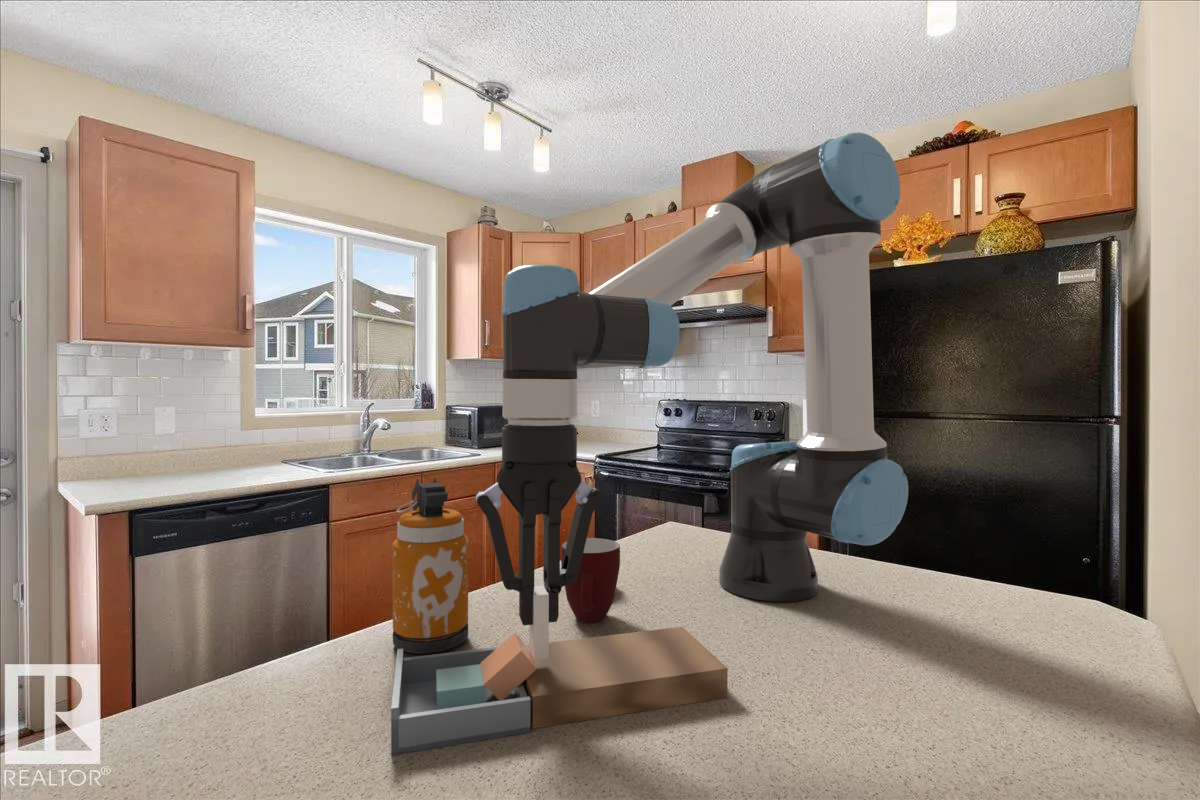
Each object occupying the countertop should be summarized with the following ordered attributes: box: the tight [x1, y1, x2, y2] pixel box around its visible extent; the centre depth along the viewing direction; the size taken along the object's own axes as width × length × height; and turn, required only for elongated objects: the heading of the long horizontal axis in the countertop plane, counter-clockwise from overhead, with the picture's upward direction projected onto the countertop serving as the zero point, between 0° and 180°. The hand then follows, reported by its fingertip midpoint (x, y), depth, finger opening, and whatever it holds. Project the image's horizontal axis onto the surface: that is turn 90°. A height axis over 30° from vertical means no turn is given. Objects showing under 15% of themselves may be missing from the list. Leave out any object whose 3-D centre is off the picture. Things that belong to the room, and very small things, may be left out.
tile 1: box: [436, 664, 486, 710], centre depth 58 cm, size 4×4×2 cm
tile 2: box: [480, 632, 537, 701], centre depth 59 cm, size 4×4×2 cm
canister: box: [392, 477, 469, 655], centre depth 74 cm, size 9×11×20 cm
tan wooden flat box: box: [523, 626, 729, 730], centre depth 63 cm, size 20×11×3 cm, turn 106°
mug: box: [560, 537, 621, 624], centre depth 80 cm, size 11×8×10 cm
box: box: [390, 646, 531, 756], centre depth 58 cm, size 12×12×4 cm
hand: (538, 653), depth 60 cm, fingers closed
